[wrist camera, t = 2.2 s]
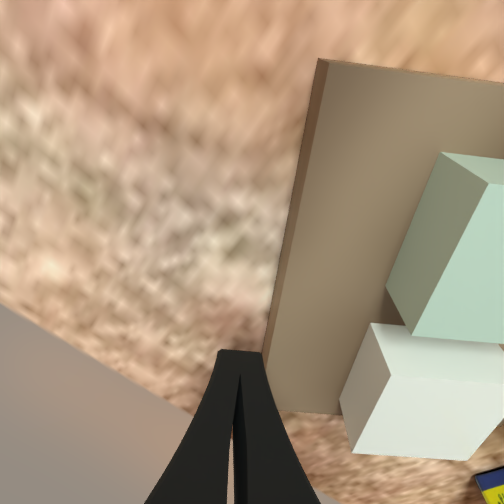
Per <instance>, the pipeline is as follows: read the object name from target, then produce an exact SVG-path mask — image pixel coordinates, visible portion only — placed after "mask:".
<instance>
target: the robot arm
mask: <svg viewBox="0 0 504 504" xmlns="http://www.w3.org/2000/svg"><path fill="white" fill-rule="evenodd" d="M232 424H233V460H234V461H233V464H234V504H321V503H320V502H319V499H318V498H317V496H316V494H315V492H314V490H313V488H312V486H311V484H310V482H309V480H308V478H307V476H306V474H305V472H304V470H303V468H302V466H301V464H300V462H299V460H298V458H297V456H296V453H295V451H294V449H293V447H292V444H291V442H290V440H289V437H288V435H287V433H286V430H285V428H284V425H283V423H282V420H281V417H280V415H279V412H278V409H277V407H276V404H275V401H274V398H273V395H272V392H271V389H270V385H269V382H268V379H267V375H266V371H265V367H264V362H263V356H262V354H261V353H260V352H250V351H238V350H226V349H221V350H219V351H218V353H217V358H216V362H215V366H214V369H213V372H212V375H211V378H210V381H209V384H208V386H207V389H206V391H205V393H204V396H203V398H202V400H201V403H200V405H199V407H198V409H197V412H196V414H195V416H194V418H193V420H192V422H191V424H190V426H189V428H188V430H187V432H186V434H185V436H184V437H183V439H182V441H181V443H180V445H179V447H178V449H177V450H176V452H175V454H174V456H173V457H172V459H171V461H170V463H169V464H168V466H167V468H166V469H165V471H164V473H163V474H162V476H161V478H160V479H159V481H158V482H157V484H156V486H155V487H154V489H153V490H152V492H151V493H150V495H149V497H148V498H147V500H146V501H145V503H144V504H227V484H228V464H229V463H228V462H229V448H230V438H231V431H232Z"/></svg>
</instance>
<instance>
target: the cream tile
mask: <svg viewBox="0 0 504 504" xmlns="http://www.w3.org/2000/svg"><path fill="white" fill-rule="evenodd" d="M339 401H340V405H341V410H342V414H343V418H344V423H345V427H346V431H347V435H348V440H349V444H350V448H351V453H358V454H373V455H388V456H403V457H418V458H433V459H448V460H463V461H467V460H468V459H469V458H470V457H471V455H472V454H473V453H474V452H475V451H476V450H477V448H478V447H479V446H480V445H481V444H482V443H483V441H484V440H485V439H486V438H487V437H488V436H489V435H490V433H491V432H492V431H493V430H494V429H495V428H496V426H497V425H498V424H499V423H500V422H501V421H502V420H503V418H504V351H503V350H502V348H501V347H500V346H499V345H498V343H487V342H476V341H464V340H453V339H441V338H430V337H419V336H411V334H410V332H409V331H408V329H407V327H406V326H402V325H390V324H379V323H370V325H369V327H368V329H367V332H366V334H365V337H364V339H363V342H362V344H361V347H360V349H359V352H358V354H357V356H356V359H355V361H354V364H353V366H352V369H351V371H350V374H349V376H348V379H347V381H346V383H345V386H344V388H343V391H342V393H341V396H340V398H339Z"/></svg>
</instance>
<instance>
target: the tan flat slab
mask: <svg viewBox="0 0 504 504" xmlns="http://www.w3.org/2000/svg"><path fill="white" fill-rule="evenodd" d="M440 152H446V153H454V154H462V155H471V156H479V157H487V158H495V159H504V83H500V82H492V81H485V80H477V79H470V78H463V77H455V76H448V75H440V74H433V73H425V72H418V71H410V70H403V69H395V68H388V67H380V66H373V65H366V64H358V63H351V62H343V61H336V60H328V59H321V58H318V61H317V67H316V72H315V77H314V82H313V88H312V93H311V98H310V103H309V109H308V114H307V119H306V124H305V130H304V135H303V140H302V145H301V151H300V156H299V161H298V166H297V172H296V177H295V182H294V187H293V193H292V198H291V203H290V208H289V214H288V219H287V224H286V229H285V234H284V240H283V245H282V250H281V255H280V261H279V266H278V271H277V276H276V282H275V287H274V292H273V297H272V303H271V308H270V313H269V318H268V324H267V329H266V334H265V339H264V345H263V350H262V356H263V362H264V367H265V371H266V375H267V379H268V382H269V385H270V389H271V392H272V395H273V398H274V401H275V404H276V407H277V409H278V411H290V412H304V413H318V414H331V415H343V414H342V410H341V405H340V401H339V398H340V396H341V393H342V391H343V388H344V386H345V383H346V381H347V379H348V376H349V374H350V371H351V369H352V366H353V364H354V361H355V359H356V356H357V354H358V352H359V349H360V347H361V344H362V342H363V339H364V337H365V334H366V332H367V329H368V327H369V325H370V323H379V324H390V325H402V326H406V325H405V323H404V321H403V319H402V317H401V315H400V313H399V311H398V309H397V307H396V305H395V304H394V302H393V300H392V298H391V296H390V294H389V292H388V290H387V288H386V286H385V285H386V283H387V280H388V278H389V276H390V273H391V271H392V268H393V266H394V263H395V261H396V258H397V256H398V253H399V251H400V249H401V246H402V244H403V241H404V239H405V236H406V234H407V231H408V229H409V227H410V224H411V222H412V219H413V217H414V214H415V212H416V209H417V207H418V204H419V202H420V200H421V197H422V195H423V192H424V190H425V187H426V185H427V182H428V180H429V177H430V175H431V173H432V170H433V168H434V165H435V163H436V160H437V158H438V155H439V153H440ZM498 345H499V346H500V347H501V348H502V350H503V351H504V344H498ZM503 424H504V418H503V420H502V421H501V422H500V423H499V424H498V425H497V426H496V427H501V426H502V425H503Z"/></svg>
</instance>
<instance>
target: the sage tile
mask: <svg viewBox="0 0 504 504" xmlns="http://www.w3.org/2000/svg"><path fill="white" fill-rule="evenodd" d="M385 286H386V288H387V290H388V292H389V294H390V296H391V298H392V300H393V302H394V304H395V305H396V307H397V309H398V311H399V313H400V315H401V317H402V319H403V321H404V323H405V325H406V327H407V329H408V331H409V332H410V334H411V336H419V337H430V338H441V339H453V340H464V341H476V342H487V343H498V344H504V159H495V158H487V157H479V156H471V155H462V154H454V153H446V152H440V153H439V155H438V158H437V160H436V163H435V165H434V168H433V170H432V173H431V175H430V177H429V180H428V182H427V185H426V187H425V190H424V192H423V195H422V197H421V200H420V202H419V204H418V207H417V209H416V212H415V214H414V217H413V219H412V222H411V224H410V227H409V229H408V231H407V234H406V236H405V239H404V241H403V244H402V246H401V249H400V251H399V253H398V256H397V258H396V261H395V263H394V266H393V268H392V271H391V273H390V276H389V278H388V280H387V283H386V285H385Z"/></svg>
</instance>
